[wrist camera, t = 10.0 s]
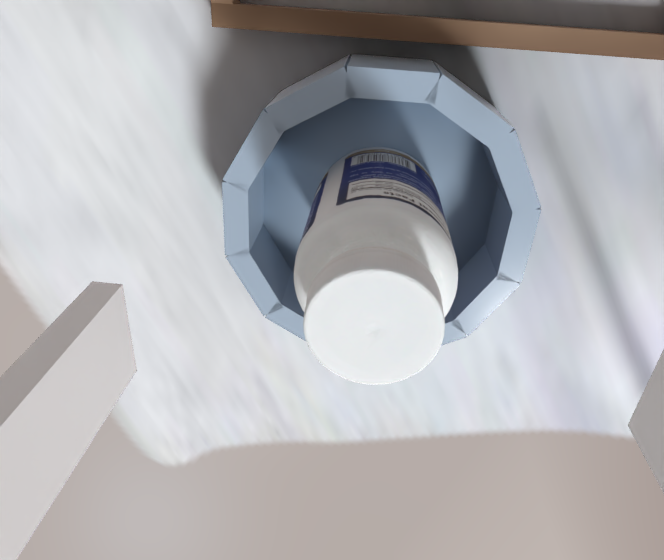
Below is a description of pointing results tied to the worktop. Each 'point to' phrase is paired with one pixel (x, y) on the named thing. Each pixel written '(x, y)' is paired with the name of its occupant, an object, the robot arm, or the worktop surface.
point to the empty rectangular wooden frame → (438, 30)
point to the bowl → (391, 132)
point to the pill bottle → (375, 268)
